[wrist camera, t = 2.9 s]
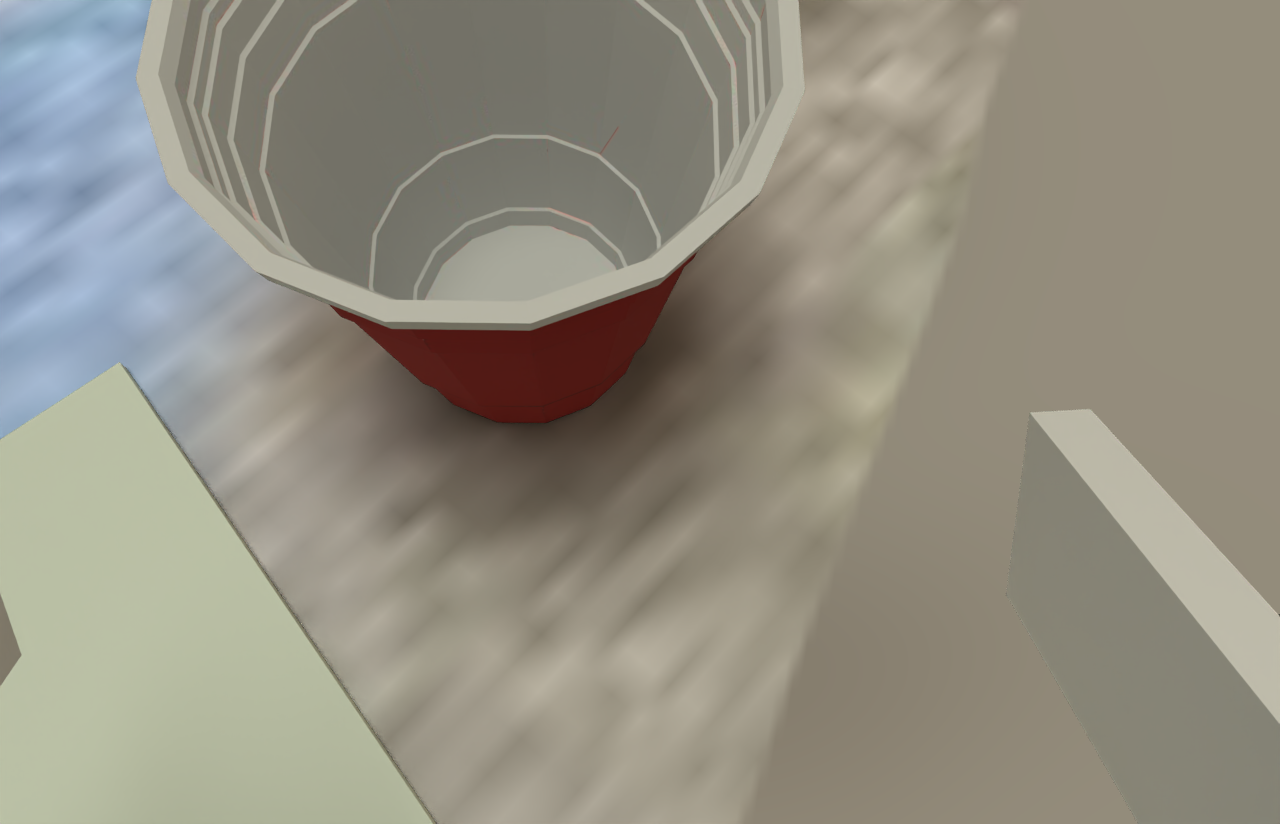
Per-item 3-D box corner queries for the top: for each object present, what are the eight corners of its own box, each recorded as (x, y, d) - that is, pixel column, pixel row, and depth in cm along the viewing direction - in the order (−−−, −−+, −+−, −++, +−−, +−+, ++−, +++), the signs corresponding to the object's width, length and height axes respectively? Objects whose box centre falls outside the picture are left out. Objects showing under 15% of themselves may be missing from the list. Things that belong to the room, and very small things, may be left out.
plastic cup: (769, 170, 31) (855, -189, 20) (698, 556, 28) (752, 392, 16) (381, 99, 32) (247, -291, 20) (265, 470, 28) (26, 253, 17)
